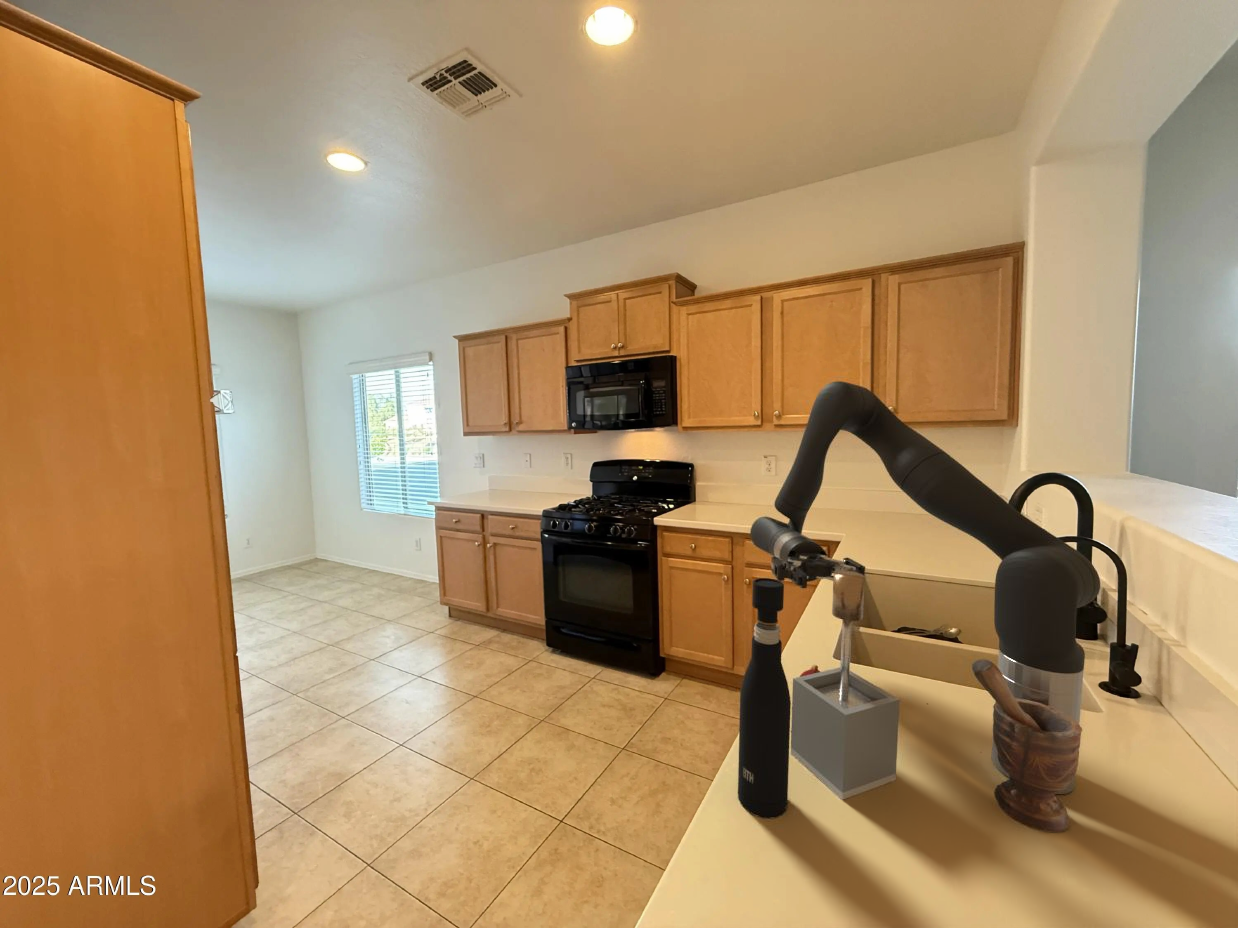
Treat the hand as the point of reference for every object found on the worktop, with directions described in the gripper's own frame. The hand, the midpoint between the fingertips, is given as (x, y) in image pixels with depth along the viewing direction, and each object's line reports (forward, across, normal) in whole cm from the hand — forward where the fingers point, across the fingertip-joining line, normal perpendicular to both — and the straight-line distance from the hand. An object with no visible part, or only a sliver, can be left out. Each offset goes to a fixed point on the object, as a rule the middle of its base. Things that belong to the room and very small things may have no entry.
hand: (832, 582), depth 76 cm
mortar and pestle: (+13, +20, +26) cm, 35 cm away
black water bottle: (+13, -13, +26) cm, 32 cm away
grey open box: (+6, 0, +26) cm, 27 cm away
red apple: (-9, +1, +26) cm, 28 cm away
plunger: (+6, 0, +16) cm, 17 cm away
